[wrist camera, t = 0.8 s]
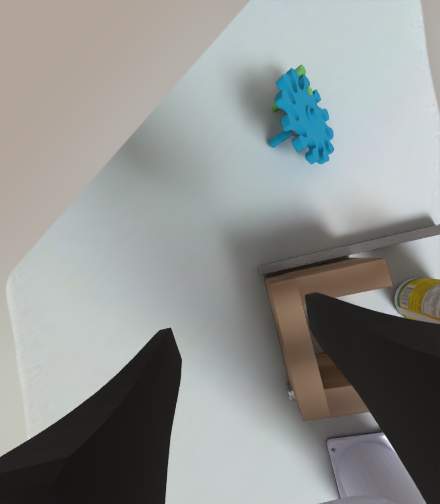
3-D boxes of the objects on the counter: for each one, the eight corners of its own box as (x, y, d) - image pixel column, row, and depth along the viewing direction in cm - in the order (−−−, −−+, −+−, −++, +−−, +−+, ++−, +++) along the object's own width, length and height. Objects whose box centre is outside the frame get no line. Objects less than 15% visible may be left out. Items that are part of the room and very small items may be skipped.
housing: (379, 365, 25) (425, 403, 19) (289, 380, 26) (303, 421, 20) (350, 257, 26) (385, 258, 19) (263, 277, 27) (269, 283, 20)
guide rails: (475, 362, 24) (490, 369, 22) (287, 392, 26) (290, 400, 25) (436, 225, 25) (448, 223, 23) (257, 266, 27) (257, 266, 26)
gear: (344, 170, 24) (293, 137, 18) (298, 190, 29) (245, 168, 23) (332, 87, 26) (281, 32, 20) (290, 118, 31) (239, 80, 25)
